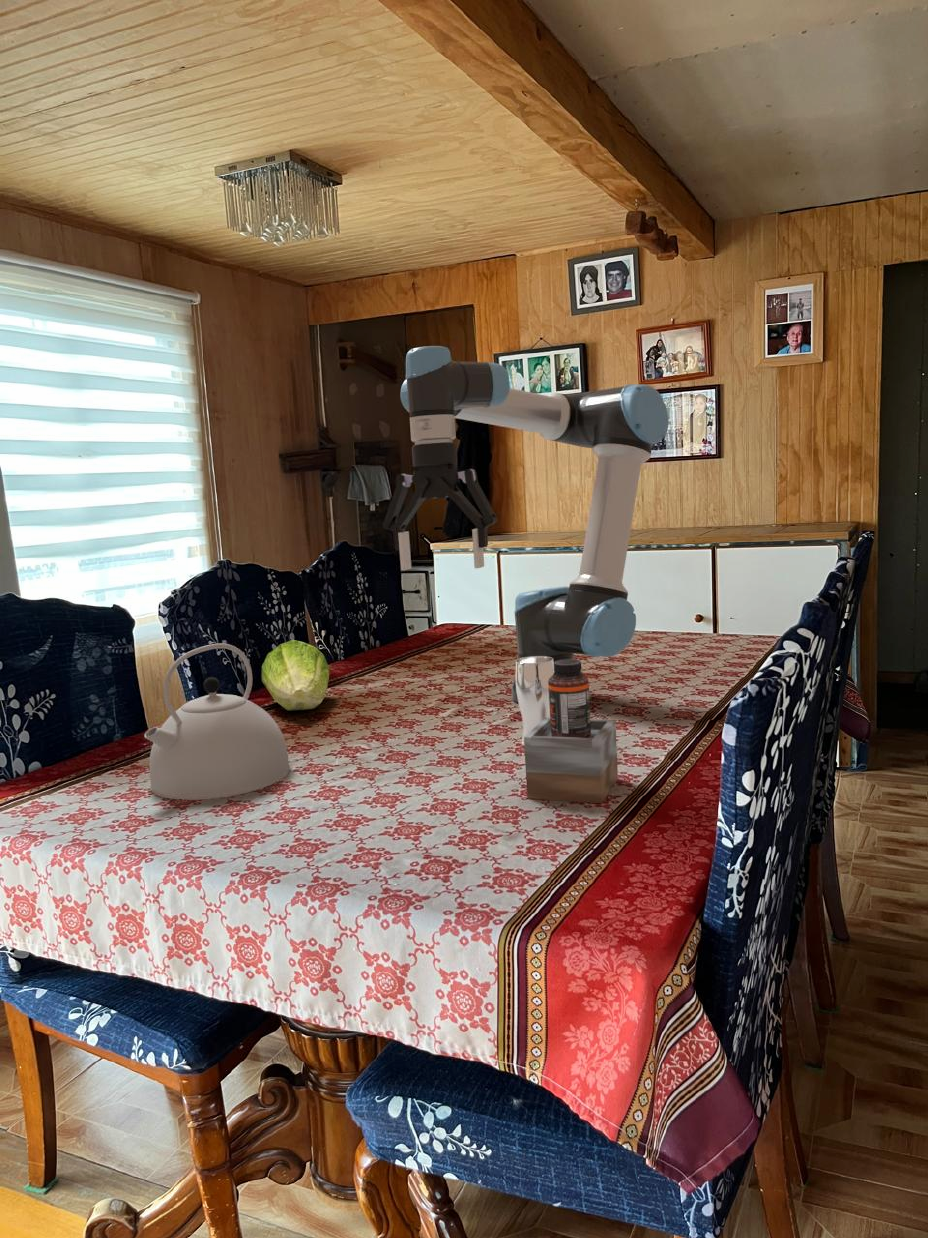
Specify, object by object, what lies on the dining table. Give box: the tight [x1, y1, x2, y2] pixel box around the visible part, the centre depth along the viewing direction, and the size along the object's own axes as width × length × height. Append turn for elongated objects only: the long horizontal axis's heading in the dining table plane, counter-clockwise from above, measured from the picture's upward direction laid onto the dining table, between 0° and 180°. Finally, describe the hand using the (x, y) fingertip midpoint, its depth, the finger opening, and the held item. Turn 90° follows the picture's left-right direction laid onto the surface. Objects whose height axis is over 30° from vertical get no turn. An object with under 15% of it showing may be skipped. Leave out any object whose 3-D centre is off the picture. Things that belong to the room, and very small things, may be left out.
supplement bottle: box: [548, 658, 592, 738], centre depth 137 cm, size 6×6×11 cm
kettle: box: [143, 642, 291, 801], centre depth 154 cm, size 25×23×22 cm
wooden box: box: [524, 718, 619, 804], centre depth 138 cm, size 11×11×9 cm
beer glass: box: [515, 656, 554, 746], centre depth 163 cm, size 7×7×15 cm
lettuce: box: [261, 639, 330, 711], centre depth 200 cm, size 14×24×15 cm
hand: (442, 568), depth 160 cm, fingers open, 13 cm apart
